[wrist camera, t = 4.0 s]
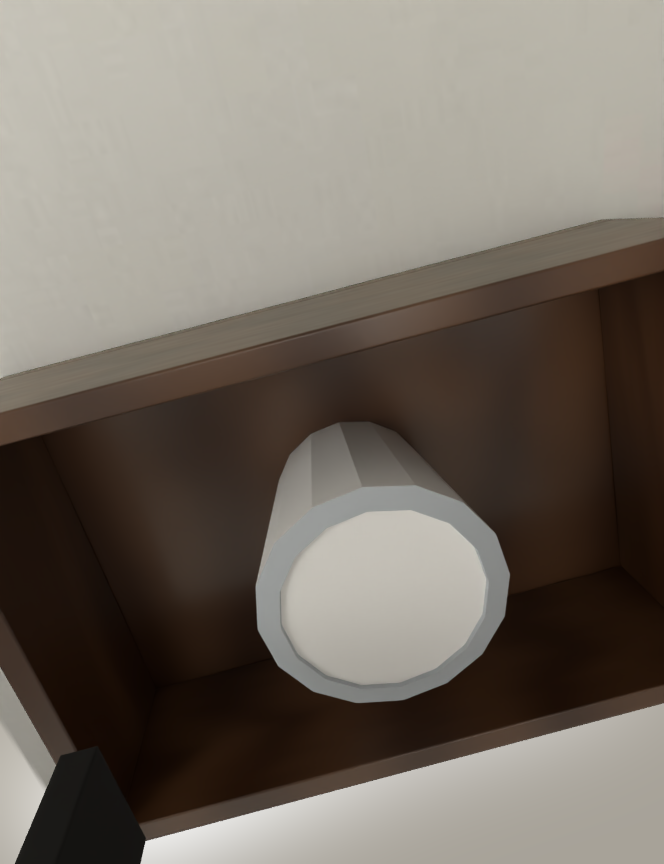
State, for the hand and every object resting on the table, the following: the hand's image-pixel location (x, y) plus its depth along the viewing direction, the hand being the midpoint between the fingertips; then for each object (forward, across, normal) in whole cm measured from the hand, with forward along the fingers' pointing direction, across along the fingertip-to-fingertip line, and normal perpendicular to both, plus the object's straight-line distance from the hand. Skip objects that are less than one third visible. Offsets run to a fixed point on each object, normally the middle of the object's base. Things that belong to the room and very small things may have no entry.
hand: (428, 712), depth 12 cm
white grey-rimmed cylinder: (+11, 0, 0) cm, 11 cm away
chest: (+12, 0, 0) cm, 12 cm away
